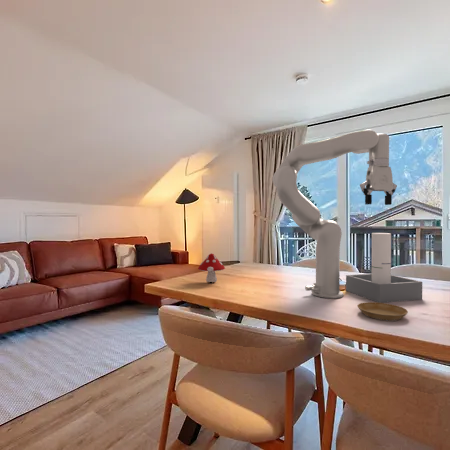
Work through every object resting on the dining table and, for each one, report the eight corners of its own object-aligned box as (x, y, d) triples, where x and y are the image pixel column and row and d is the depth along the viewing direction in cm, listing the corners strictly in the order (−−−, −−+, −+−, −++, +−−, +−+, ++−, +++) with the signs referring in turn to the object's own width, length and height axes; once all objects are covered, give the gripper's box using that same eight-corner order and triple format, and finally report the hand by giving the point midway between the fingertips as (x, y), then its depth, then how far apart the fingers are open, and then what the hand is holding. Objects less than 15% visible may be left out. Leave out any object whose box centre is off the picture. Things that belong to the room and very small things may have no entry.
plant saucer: (348, 310, 103) (348, 303, 102) (383, 307, 106) (383, 300, 106) (379, 325, 88) (379, 316, 88) (419, 321, 91) (419, 313, 91)
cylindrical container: (393, 294, 119) (393, 233, 119) (374, 294, 120) (374, 233, 120) (387, 290, 126) (387, 232, 126) (369, 290, 127) (369, 232, 127)
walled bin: (379, 302, 111) (379, 284, 111) (346, 290, 130) (346, 275, 130) (422, 299, 116) (422, 281, 116) (383, 288, 135) (383, 273, 135)
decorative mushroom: (222, 286, 140) (222, 255, 140) (194, 285, 142) (194, 254, 142) (226, 280, 154) (226, 252, 154) (201, 279, 156) (201, 251, 156)
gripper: (367, 161, 118) (366, 203, 118) (403, 163, 122) (402, 204, 122) (355, 165, 126) (354, 204, 126) (389, 166, 129) (389, 205, 129)
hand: (378, 204), depth 124 cm, fingers open, 9 cm apart
